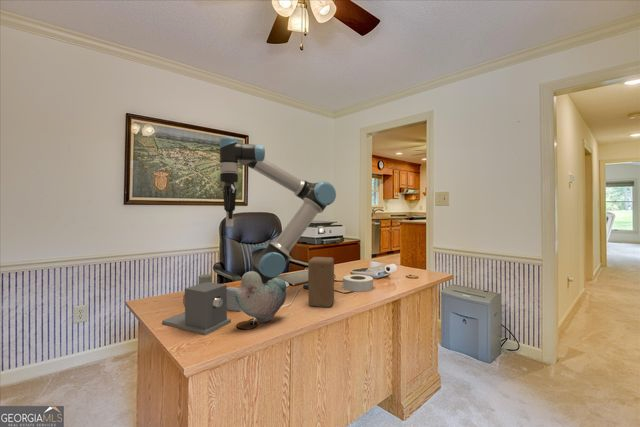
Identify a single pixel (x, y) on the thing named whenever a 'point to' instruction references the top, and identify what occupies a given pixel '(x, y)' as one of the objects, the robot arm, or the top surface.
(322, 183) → the robot arm
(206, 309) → the bearing block
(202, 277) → the air freshener
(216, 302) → the orange rounded long piece
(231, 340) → the top surface
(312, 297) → the wooden block
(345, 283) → the roll of tape
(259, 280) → the grey rounded bird shape
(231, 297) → the medicine box
